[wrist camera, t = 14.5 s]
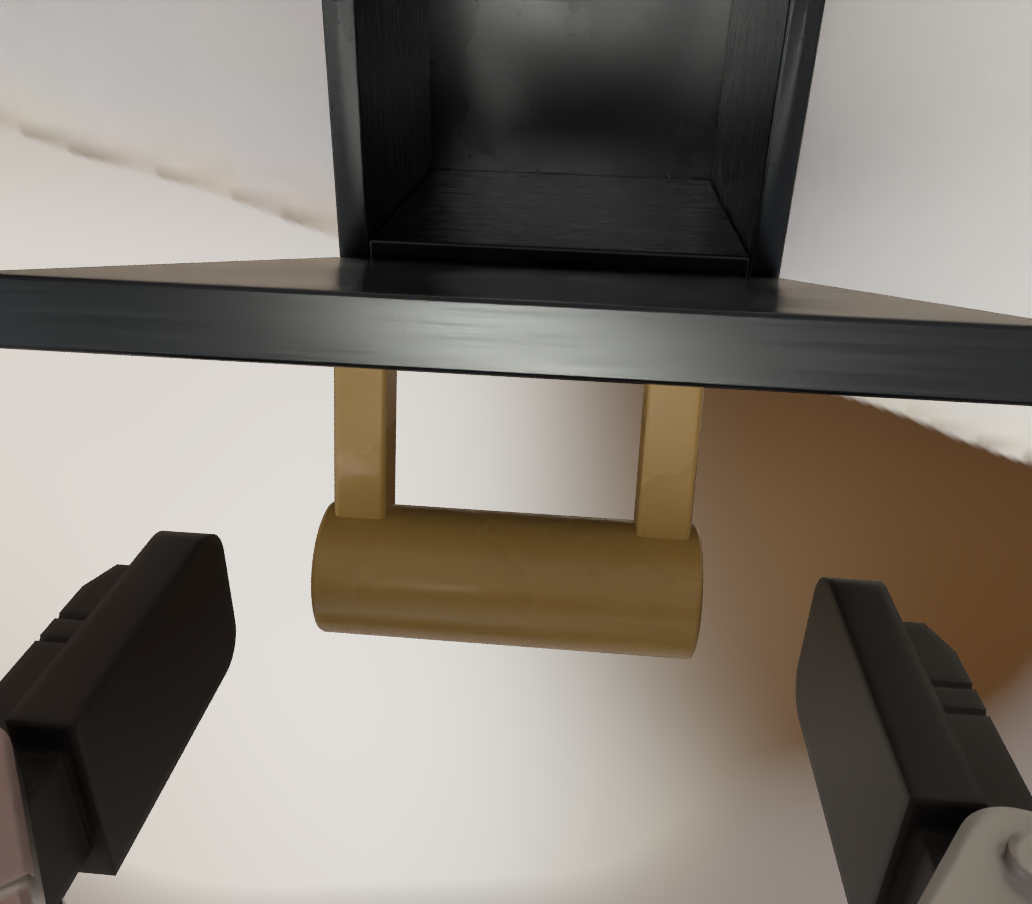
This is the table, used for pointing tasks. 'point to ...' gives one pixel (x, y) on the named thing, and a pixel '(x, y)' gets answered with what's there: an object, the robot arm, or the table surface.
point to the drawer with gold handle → (529, 354)
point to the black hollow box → (569, 130)
